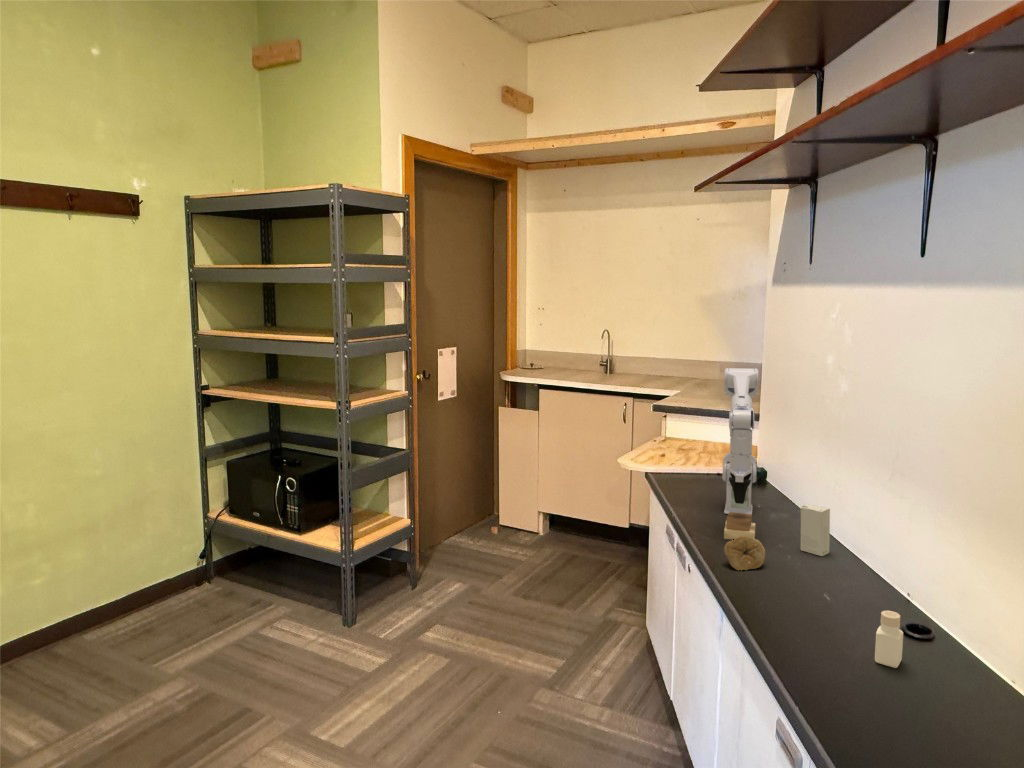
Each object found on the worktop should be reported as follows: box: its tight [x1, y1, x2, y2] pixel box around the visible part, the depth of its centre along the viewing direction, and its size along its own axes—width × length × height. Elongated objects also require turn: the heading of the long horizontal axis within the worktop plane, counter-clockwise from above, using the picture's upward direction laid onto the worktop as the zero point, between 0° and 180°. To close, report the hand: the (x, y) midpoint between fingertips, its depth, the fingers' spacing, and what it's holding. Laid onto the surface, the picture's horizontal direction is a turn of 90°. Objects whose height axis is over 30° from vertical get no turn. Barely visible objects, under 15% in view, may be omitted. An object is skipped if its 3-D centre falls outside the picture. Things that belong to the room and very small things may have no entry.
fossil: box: [723, 536, 766, 572], centre depth 180 cm, size 9×4×10 cm
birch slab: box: [723, 520, 756, 541], centre depth 199 cm, size 8×8×3 cm
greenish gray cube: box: [731, 488, 749, 509], centre depth 198 cm, size 4×4×5 cm
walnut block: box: [726, 512, 753, 531], centre depth 199 cm, size 6×6×3 cm
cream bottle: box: [874, 610, 904, 669], centre depth 133 cm, size 4×4×10 cm
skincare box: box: [800, 503, 831, 557], centre depth 186 cm, size 6×4×12 cm
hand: (739, 500), depth 198 cm, fingers closed on greenish gray cube, 4 cm apart
